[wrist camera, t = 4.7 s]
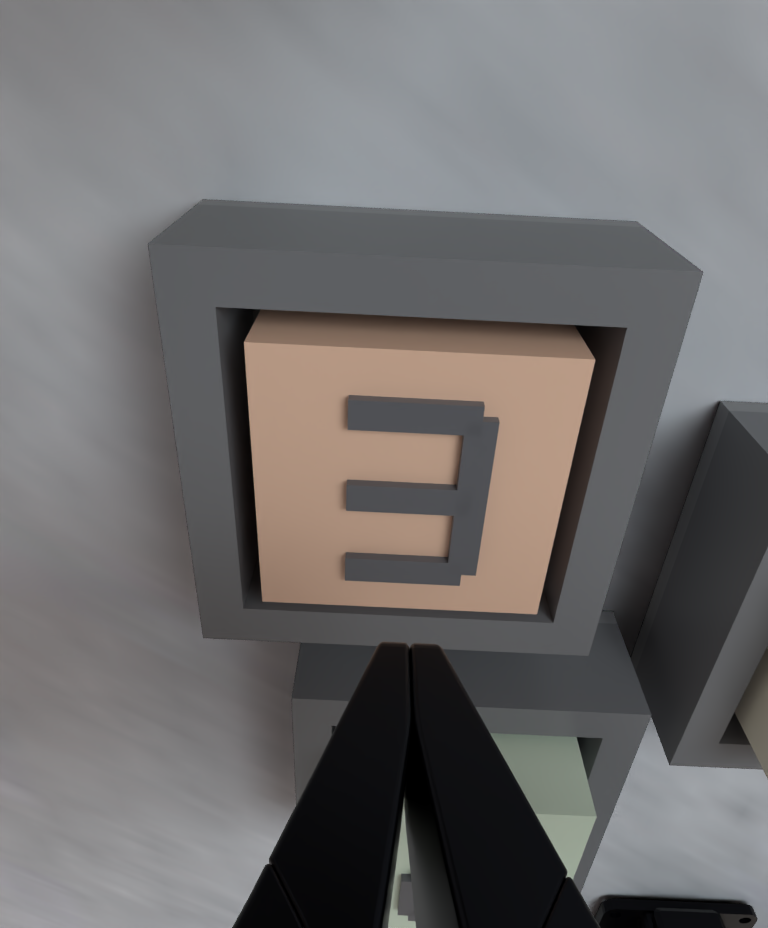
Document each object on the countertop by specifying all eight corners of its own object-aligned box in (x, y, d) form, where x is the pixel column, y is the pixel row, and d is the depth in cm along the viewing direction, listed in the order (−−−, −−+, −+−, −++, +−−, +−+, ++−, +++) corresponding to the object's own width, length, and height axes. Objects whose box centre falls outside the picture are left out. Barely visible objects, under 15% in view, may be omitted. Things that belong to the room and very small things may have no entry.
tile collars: (828, 802, 25) (888, 909, 22) (257, 776, 25) (237, 880, 21) (1208, 251, 14) (1433, 308, 11) (202, 199, 14) (147, 243, 11)
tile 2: (537, 849, 21) (553, 942, 19) (348, 841, 21) (342, 933, 19) (574, 729, 18) (598, 824, 16) (351, 719, 18) (345, 813, 16)
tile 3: (520, 544, 17) (538, 621, 14) (279, 533, 17) (260, 608, 14) (565, 311, 13) (598, 364, 11) (267, 296, 13) (241, 346, 11)
